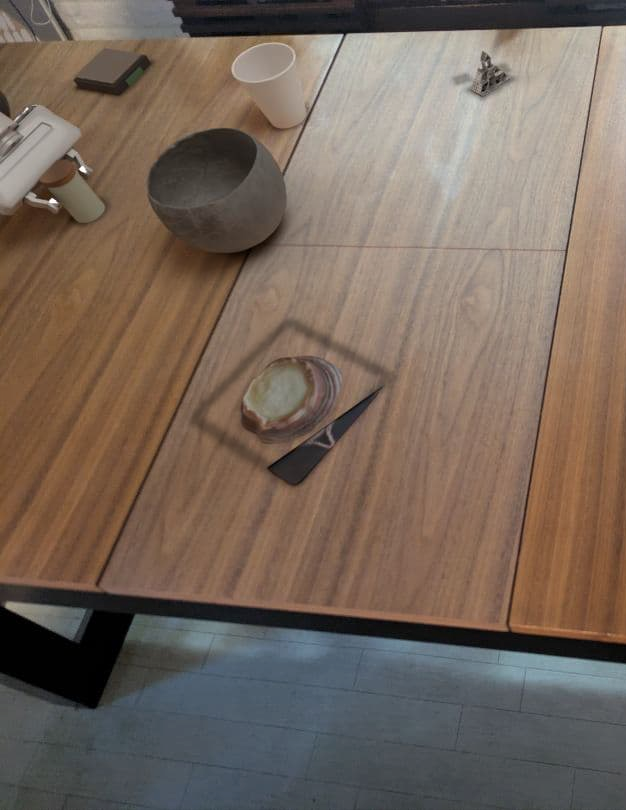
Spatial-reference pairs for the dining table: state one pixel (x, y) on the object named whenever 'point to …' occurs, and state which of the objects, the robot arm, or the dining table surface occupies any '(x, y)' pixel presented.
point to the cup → (272, 82)
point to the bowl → (218, 190)
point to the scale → (112, 71)
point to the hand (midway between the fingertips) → (75, 192)
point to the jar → (72, 191)
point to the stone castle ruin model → (488, 77)
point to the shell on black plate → (297, 411)
